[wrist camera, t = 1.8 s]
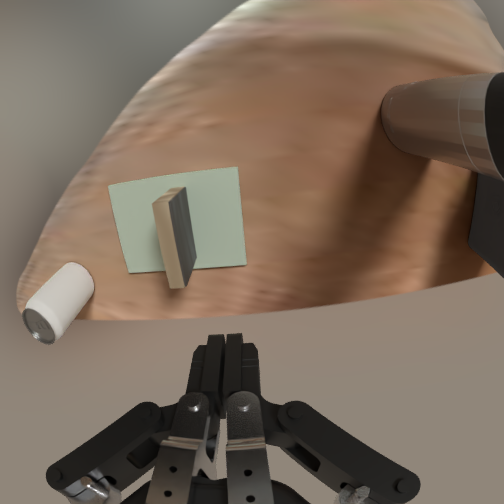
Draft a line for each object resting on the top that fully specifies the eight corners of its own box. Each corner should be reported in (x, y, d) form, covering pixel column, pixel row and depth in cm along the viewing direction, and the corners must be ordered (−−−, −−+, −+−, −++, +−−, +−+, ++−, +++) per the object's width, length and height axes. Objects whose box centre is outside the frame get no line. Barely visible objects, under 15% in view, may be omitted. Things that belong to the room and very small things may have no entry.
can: (56, 265, 34) (12, 308, 24) (83, 256, 34) (37, 302, 23) (74, 300, 37) (38, 347, 26) (102, 293, 37) (66, 346, 26)
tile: (186, 186, 30) (170, 201, 24) (197, 257, 34) (186, 287, 27) (171, 187, 30) (151, 203, 24) (183, 258, 34) (170, 288, 27)
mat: (237, 166, 30) (237, 167, 29) (246, 262, 35) (246, 264, 34) (110, 185, 30) (108, 186, 29) (130, 270, 35) (128, 272, 34)
